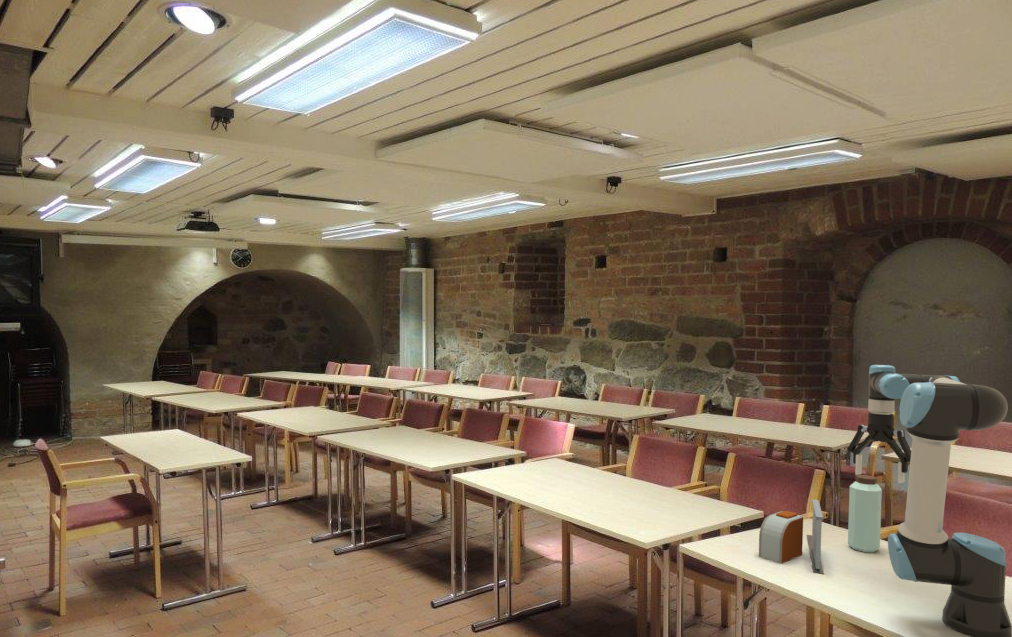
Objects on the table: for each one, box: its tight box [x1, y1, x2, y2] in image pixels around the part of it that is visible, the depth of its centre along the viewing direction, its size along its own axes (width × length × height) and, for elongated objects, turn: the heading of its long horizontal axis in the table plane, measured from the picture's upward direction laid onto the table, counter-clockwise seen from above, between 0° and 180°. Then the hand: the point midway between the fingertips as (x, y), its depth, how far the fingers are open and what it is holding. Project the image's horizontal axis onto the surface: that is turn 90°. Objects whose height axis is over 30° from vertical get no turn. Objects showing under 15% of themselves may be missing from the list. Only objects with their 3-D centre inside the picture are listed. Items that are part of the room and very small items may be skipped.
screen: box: [811, 499, 824, 569], centre depth 231 cm, size 22×2×16 cm, turn 160°
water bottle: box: [847, 474, 883, 553], centre depth 243 cm, size 10×10×25 cm
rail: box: [806, 534, 825, 575], centre depth 237 cm, size 39×3×1 cm, turn 160°
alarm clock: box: [758, 510, 804, 564], centre depth 235 cm, size 15×8×14 cm, turn 130°
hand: (879, 478), depth 227 cm, fingers open, 13 cm apart
